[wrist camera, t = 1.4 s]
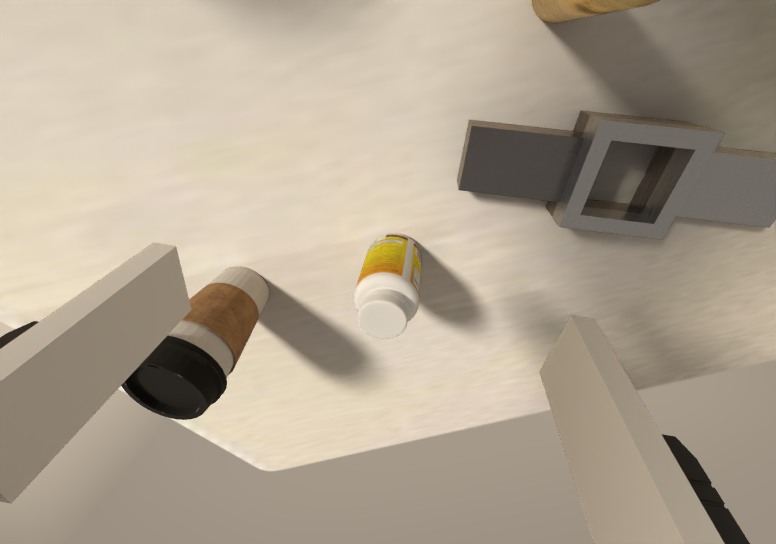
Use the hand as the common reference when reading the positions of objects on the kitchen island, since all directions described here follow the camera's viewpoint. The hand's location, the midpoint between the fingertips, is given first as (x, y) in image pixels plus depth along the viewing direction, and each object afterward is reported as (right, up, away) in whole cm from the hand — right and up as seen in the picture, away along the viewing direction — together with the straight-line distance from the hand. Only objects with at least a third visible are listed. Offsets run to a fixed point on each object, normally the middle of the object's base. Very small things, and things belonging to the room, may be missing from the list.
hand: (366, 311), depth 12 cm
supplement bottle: (+2, +3, +24) cm, 24 cm away
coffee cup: (-16, 0, +29) cm, 33 cm away
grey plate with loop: (+19, +10, +17) cm, 27 cm away
